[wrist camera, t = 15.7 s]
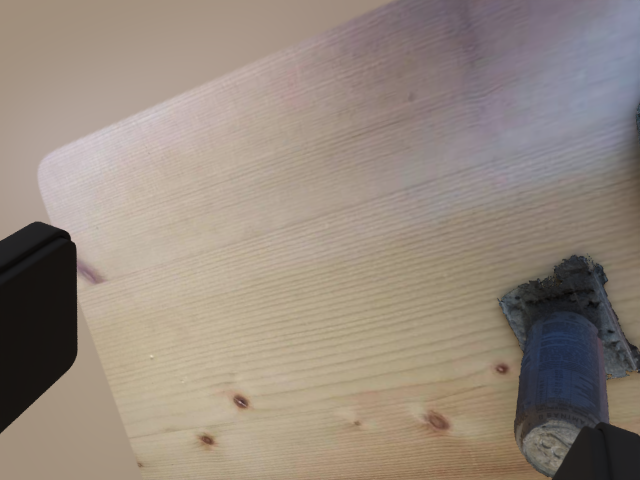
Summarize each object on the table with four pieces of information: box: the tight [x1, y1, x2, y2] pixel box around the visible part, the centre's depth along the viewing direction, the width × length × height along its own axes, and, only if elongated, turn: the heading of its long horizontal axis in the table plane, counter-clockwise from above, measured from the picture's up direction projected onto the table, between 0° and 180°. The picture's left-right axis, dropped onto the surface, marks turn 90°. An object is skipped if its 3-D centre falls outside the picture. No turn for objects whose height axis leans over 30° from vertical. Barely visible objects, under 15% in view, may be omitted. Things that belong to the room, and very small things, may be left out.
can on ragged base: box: [498, 253, 640, 478], centre depth 34 cm, size 9×8×12 cm
